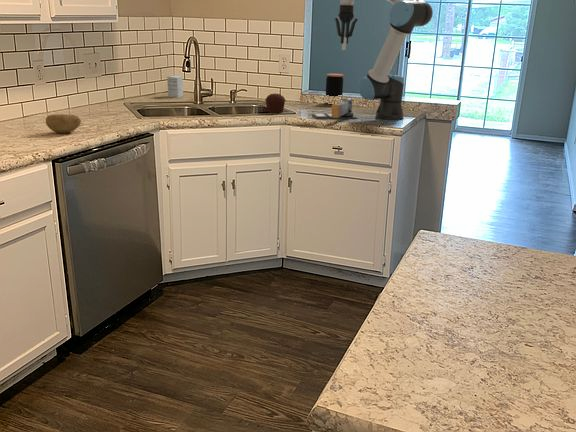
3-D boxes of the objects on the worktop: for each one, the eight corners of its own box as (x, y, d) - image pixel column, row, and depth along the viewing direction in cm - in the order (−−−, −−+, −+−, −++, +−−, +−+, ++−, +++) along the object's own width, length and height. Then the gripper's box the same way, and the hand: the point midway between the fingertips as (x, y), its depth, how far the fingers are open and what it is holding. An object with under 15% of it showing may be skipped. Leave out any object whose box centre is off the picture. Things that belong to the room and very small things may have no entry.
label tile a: (335, 115, 318) (335, 113, 317) (340, 119, 309) (340, 116, 308) (324, 115, 317) (324, 113, 316) (329, 118, 307) (329, 116, 307)
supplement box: (173, 95, 374) (172, 75, 370) (183, 96, 372) (182, 76, 368) (167, 96, 367) (166, 76, 363) (177, 97, 365) (177, 77, 361)
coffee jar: (341, 102, 370) (343, 74, 364) (341, 105, 360) (343, 75, 354) (325, 102, 371) (326, 73, 365) (324, 104, 361) (326, 74, 355)
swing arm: (344, 111, 316) (344, 98, 314) (352, 112, 315) (353, 98, 312) (329, 116, 296) (330, 102, 294) (339, 117, 294) (340, 103, 292)
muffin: (289, 112, 324) (290, 94, 321) (275, 114, 316) (276, 95, 313) (274, 109, 331) (274, 92, 328) (260, 111, 324) (260, 93, 320)
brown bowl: (82, 134, 246) (81, 115, 244) (47, 135, 241) (45, 116, 238) (80, 130, 255) (79, 111, 252) (46, 131, 249) (44, 112, 247)
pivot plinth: (352, 116, 319) (352, 111, 318) (357, 118, 311) (357, 114, 310) (336, 116, 317) (336, 111, 317) (341, 118, 309) (341, 113, 308)
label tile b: (323, 115, 316) (323, 113, 316) (327, 118, 307) (327, 116, 307) (312, 115, 315) (312, 113, 315) (316, 118, 306) (316, 116, 306)
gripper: (356, 5, 319) (353, 49, 326) (333, 4, 316) (330, 49, 324) (360, 5, 312) (357, 50, 319) (337, 4, 309) (334, 49, 317)
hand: (343, 49), depth 322 cm, fingers closed
